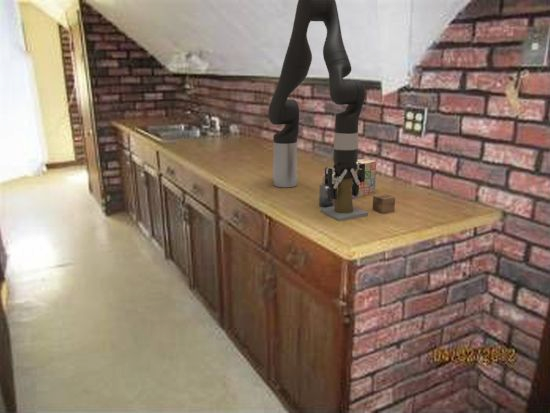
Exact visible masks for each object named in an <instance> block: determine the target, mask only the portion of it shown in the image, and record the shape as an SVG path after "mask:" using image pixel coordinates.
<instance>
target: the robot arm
mask: <svg viewBox="0 0 550 413" xmlns="http://www.w3.org/2000/svg"><path fill="white" fill-rule="evenodd" d="M336 2H337V1H336V0H297V4H296V10H295V16H294V21H293V24H292V25H293V26H292V31H291V35H290V39H289V43H288V46H287V49H286V53H285V55H284V60H283V63H282V67H281V71H280V74H279V79H278V81H277V85H276V88H275V89H274V92H273V95H272V98H271V101H270V103H269V107H268V110H267V111H268V120H269V122H270V123H271V124H272V125H276V126H278V125H284V127H283V128H282V129H281V130H279V131H278V132H276V133H274V135H273V137H272V138H273V140H272V142H273V144H272V145H273V146H272V147H273V164H272V167H273V169H272V170H273V172H272V173H273V175H272V176H273V177H272V178H273V185H274V186H275V187H279V188H292V187H293V188H294V187H296V186H297V185H298V136H299V125H300V106H299V104H298V102H297V100H296V99H293V98H289V97H290V95H291V94H292V93H293V92H294V91H295V90H296V89H297V88H298V87H299V86H300V85H301V84H302V83H303V81H304V80H305V79H306V78H307V76H308V74H309V71H310V68H311V64H312V61H313V53H312V51H311V46H310V44H309V40H308V28H309V26H310V23H311V22H323V25H324V26H325V28H326V36H325V40H324V43H323V48H322V55H323V60H324V63H325V67H326V69H327V72H328V81H329V82H328V83H329V96H330V99H331V101H332V102H333V103H334V104H335V105H338V106H344V105H346V109H345V110H344V111H341V112H338V113H337V114H336V115H335V122H334V125H335V126H334V137H333V138H334V139H333V163H334V164H333V167H327V166H326V167H325V168H324V174H325V186H328V187H330V197H331V199H333V200H336V199H337V188H336V187H337V186H338V184H339V183H340V182H341V181H342V179H346V178H351V179H352V180H353V185H352V195H353V196H357V195H358V193H359V184H360V183H361V182H364V181H365V164H362V163H358V164H357V163H356V162H357V161H358V159H359V119H360V116H361V113H362V108H363V106H364V103H365V99H366V87H365V85H364V83H363V82H362V81H361V80H359V79H352V80H351V79H350V80H344V79H345V78H346V77H348V76H349V75H350V73H351V72H352V65H351V61H350V59H349V56H348V54H347V51H346V47H345V45H344V40H343V36H342V30H341V22H340V18H339V17H340V16H339V10H338V4H337V3H336ZM288 98H289V99H288ZM356 169H357V175H356V173H355V171H356ZM333 172H335V173H333ZM332 174H334V175H333V177H332ZM337 177H338V179H337Z"/></svg>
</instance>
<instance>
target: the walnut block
mask: <svg viewBox="0 0 550 413" xmlns="http://www.w3.org/2000/svg"><path fill="white" fill-rule="evenodd" d="M395 207H396V197H395V196H394V195H390V194H387V193H381V194H374V195H372V211H374V212H376V213H378V214H382V215H384V214H385V215H386V214H389V213H394V212H395Z"/></svg>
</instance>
